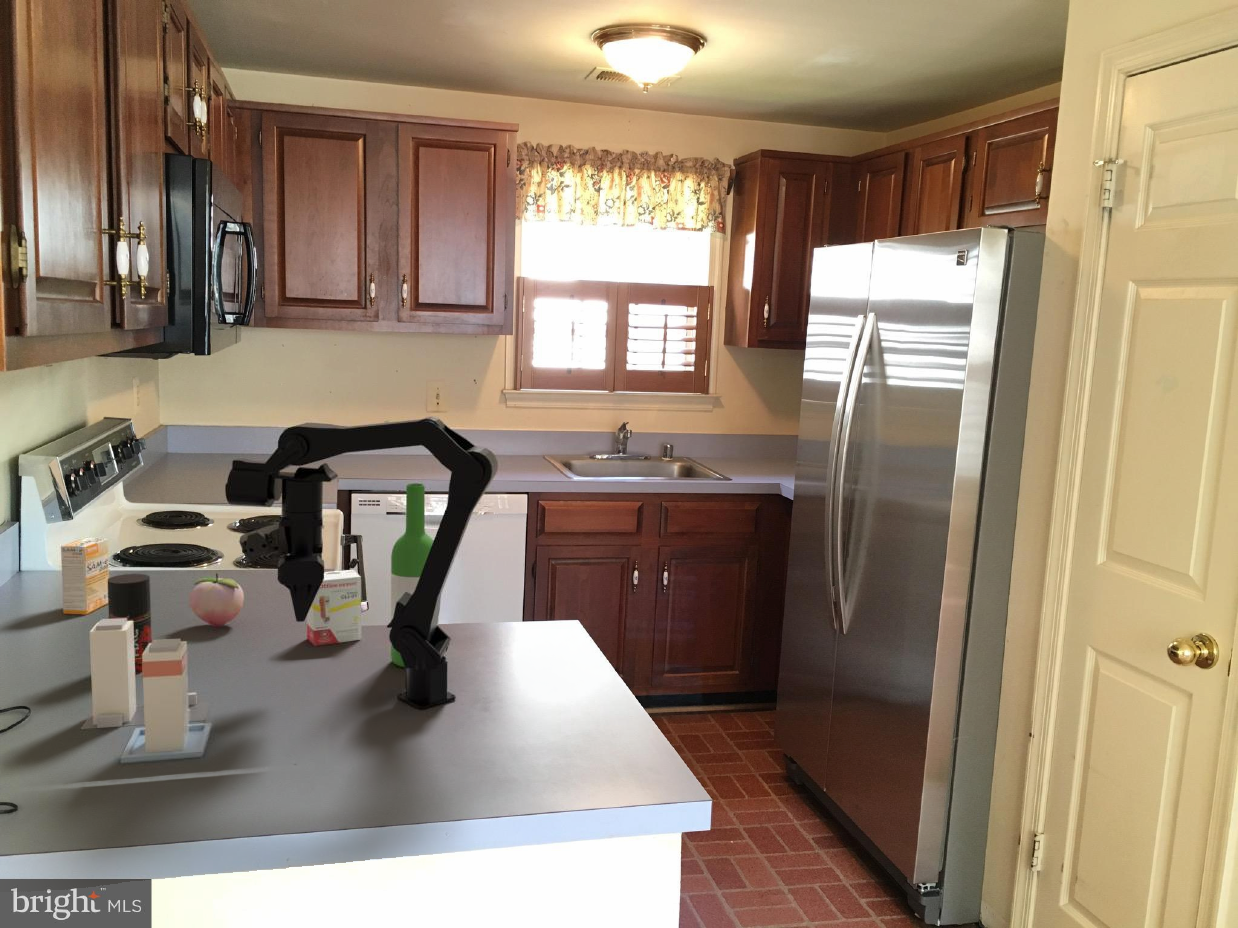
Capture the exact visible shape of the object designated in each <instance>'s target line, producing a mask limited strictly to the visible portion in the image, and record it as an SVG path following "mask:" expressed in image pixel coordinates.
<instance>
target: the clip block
mask: <svg viewBox="0 0 1238 928" xmlns="http://www.w3.org/2000/svg"><path fill="white" fill-rule="evenodd" d="M197 694H198V693H197V692H188V710H189V723H191V722H204V721H206V720H207V716H208V713H209V710H210V709H211V704H212V701H202V702H201V701H199V702H198V699H197V698H198V697H197ZM133 726H134V727H136V726H145V721H144V705H140V706H139V705H136V711H135V713H134V715H133V717H132V719H131V721H130V722H124V723H123V713H122V714H107V715H98V716H97V724H95V725H93V710H92V711H91V712H90V714H89V715H88V717H87V719H86V720H85V721H84V723H83V724H82V726H81V728H80V730H89V729H90V730H92V729H104V728H115V727H116V728H118V727H133Z"/></svg>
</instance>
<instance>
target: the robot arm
mask: <svg viewBox="0 0 1238 928" xmlns="http://www.w3.org/2000/svg"><path fill="white" fill-rule="evenodd" d="M417 446H419V447H420V446H422V447H424V448H425V449H426V450H428V451H429V452H430V454H431V455H433V456H434V458H435V459H436V460H437V461H438V462H439V463H440V464H441V465H442V466H443V467H445V468H446V469H447V470H448V471H450V472H451V474H450V478H449V483H448V484H449V485H448V492H447V501H446V502H447V503H446V508H445V510H444V512H443V516H442V518H441V521H440V524H439V526H438V527H437V531H436V534H435V537H434V539H433V540H434V541H433V544H432V547H431V549H430V552H429V555H428V557H427V560H426V562H425V565H424V568H423V570H422V573H421V576H420V578H419V581H418V583H417V586H416V589H415V591H414V593H413V594H412V595H411V594H409V593H408V592H405V593H404V594H403V595H402V597H401V598H400V599H399V600H398V601H397V603H396V606H395V611H394V616H393V619H392V620H391V619H390V622H389V623H388V624H387V625H386V628H387V629H390V630H389V635H388V638H389V642H390V645H391V644H392V646H393V648H394V649H395V650H396V651H397V652H399V653H400V655H401V658H402V660H403V663H404V666H405V667H404V668H405V669H404V671H405V674H404V676H405V677H404V678H405V679H404V685H405V686H404V687H405V688H404V690H405V691H403V692H399V693H397V694H396V698H397V699H399V700H401V701H403V702H405V703H406V704H408V705H410V706H413V707H415V708H417V709H419V710H424V709H427V708H430V707H433V706H437V705H440V704H443V703H444V704H445V703H447V702H451V701H454V700H456V695H455V694H453V693H451V692H449V691H448V664H449V663H448V661H447V658H446V656H444V655H445V653H446V652H447V650H448V649H449V646H450V644H451V640H452V639H451V637H450V636H449V635H448V634H447V633H446V631H444V630H443V629H442V628H441V627H440V626H439V624H438V625H437V622H438V623H439V616H440V612H441V611H440V610H441V602H442V600H441V599H442V598H441V597H442V594H443V590H444V588H445V586H446V583H447V580H448V578H449V574H450V572H451V570H452V567H453V564H454V561H455V559H456V557H457V554H458V550H459V549H460V546H461V543H462V541H463V538H464V535H465V533H466V531H467V527H468V525H469V523H470V519H471V518H472V515H473V512H474V510H475V509H476V507H477V505H478V504H479V502H480V501H481V499H482V497H483V496H484V494H485V493H486V491H487V490H488V488H489V486H490V484H491V483H492V481H493V480H494V478H495V476H496V474H497V473H498V469H499V461H498V460H497V458H496V456H495V454H494V453H493V452H492V451H491V450H490V449H488V448H487V447H484V446H476V445H474V443H473V442H471V441H470V440H468V439H467V438H466V437H465V436H462V435H461V434H459V433H458V432H456V430H454V429H452V428H450V427H449V426H448V425H446V424H445V423H444V421H442V420H441V419H440V418H438V417H436V416H427V417H425V418H421V419H412V420H411V419H409V420H400V421H392V422H391V421H390V422H380V423H369V424H361V425H351V426H348V425H339V424H332V423H322V422H321V423H319V422H304V423H301V424H296V425H293V426H289V427H287V428H286V429H284V430H283V431H282V433H281V434H280V435H279V438H278V440H277V448H276V449H275V450H274V452H272V454H271V455H270V456H269V458H268V459H267V460H266V461H264V460H260V461H259V460H252V459H251V460H250V459H248V458H236V459H234V460H232V462H231V469H230V471H229V474H228V476H227V481H226V483H225V486H224V487H225V488H224V491H225V492H224V493H225V498H226V501H227V503H228V504H229V506H230V505H231V506H246V507H261V508H263V507H264V508H272V506H273V505H274V503H275V502H278V501H280V499H281V514H280V515H279V520H278V523H275V524H274V523H273V524H272V525H267V526H265V527H261V528H259V529H255V530H253V531H250V532H247V533H245V534H242V535H241V536H240V537H239V545H240V547H241V553H242V554H243V555H244V557H245V560H246V562H251V561H255V560H257V559H258V558H260V557H262V556H266V555H269V554H272V553H275V552H276V551H278V552H277V553H278V555H279V556H280V559H279V560H278V561H277V581H278V582H279V584H280V585H282V586H284V587H286V588H287V589H288V590H289V593H290V594H289V595H290V597H291V602H292V606H293V611H294V618H295V621H296V622H299V623H300V622H301V623H302V622H303V623H304V622H305V620H306V619H307V614H308V612H309V610H310V607H311V605H312V603H313V601H314V599H315V596H316V594H317V592H318V590H319V588H320V586H321V584H322V583H323V580H324V572H325V560H323V555H322V554H323V551H324V550H323V547H324V546H323V543H324V541H323V524H324V523H323V495H324V494H323V492H324V489H323V488H324V486H323V485H324V482H326V483H330V482H332V481H334V480H336V479H337V478H338V477H339V476H338V474H337V473H336V472H335V471H334V470H333V469H332V468H331V467H330V466H329V465H328V463H326V462H325V463H323V464H320V465H319V467H307V466H306V467H304V466H305V465H309V464H313V463H316V462H319V461H323V460H325V459H329V458H334V457H336V456H340V455H343V454H348V453H357V452H358V453H359V452H366V451H378V450H388V449H397V448H407V447H408V448H409V447H417ZM293 466H296V467H297V469H295V470H296V471H294V472H293V471H291V472H290V471H283V470H286V469H287V468H290V467H293ZM302 466H303V467H302ZM391 627H392V628H391Z"/></svg>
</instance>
